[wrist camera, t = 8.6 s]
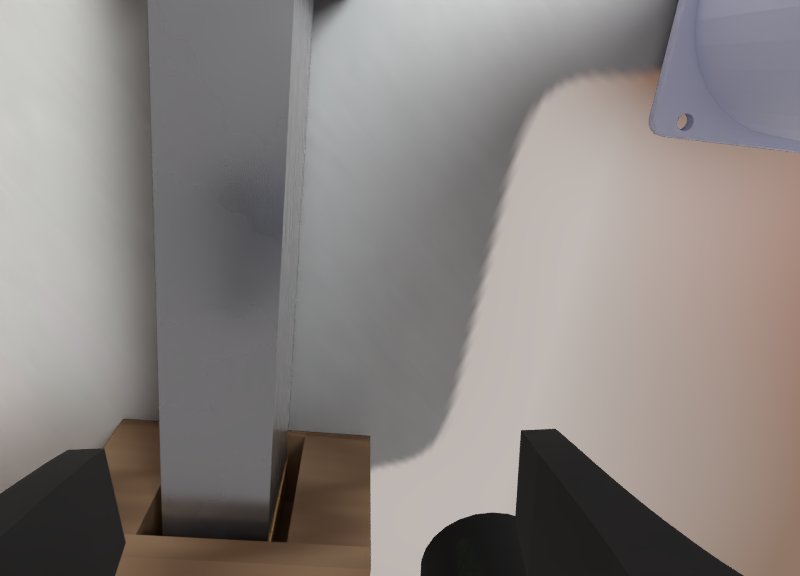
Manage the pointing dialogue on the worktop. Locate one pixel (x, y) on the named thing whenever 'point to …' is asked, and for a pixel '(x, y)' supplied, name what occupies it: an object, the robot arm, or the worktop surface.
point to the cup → (476, 548)
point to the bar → (226, 254)
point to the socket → (239, 559)
